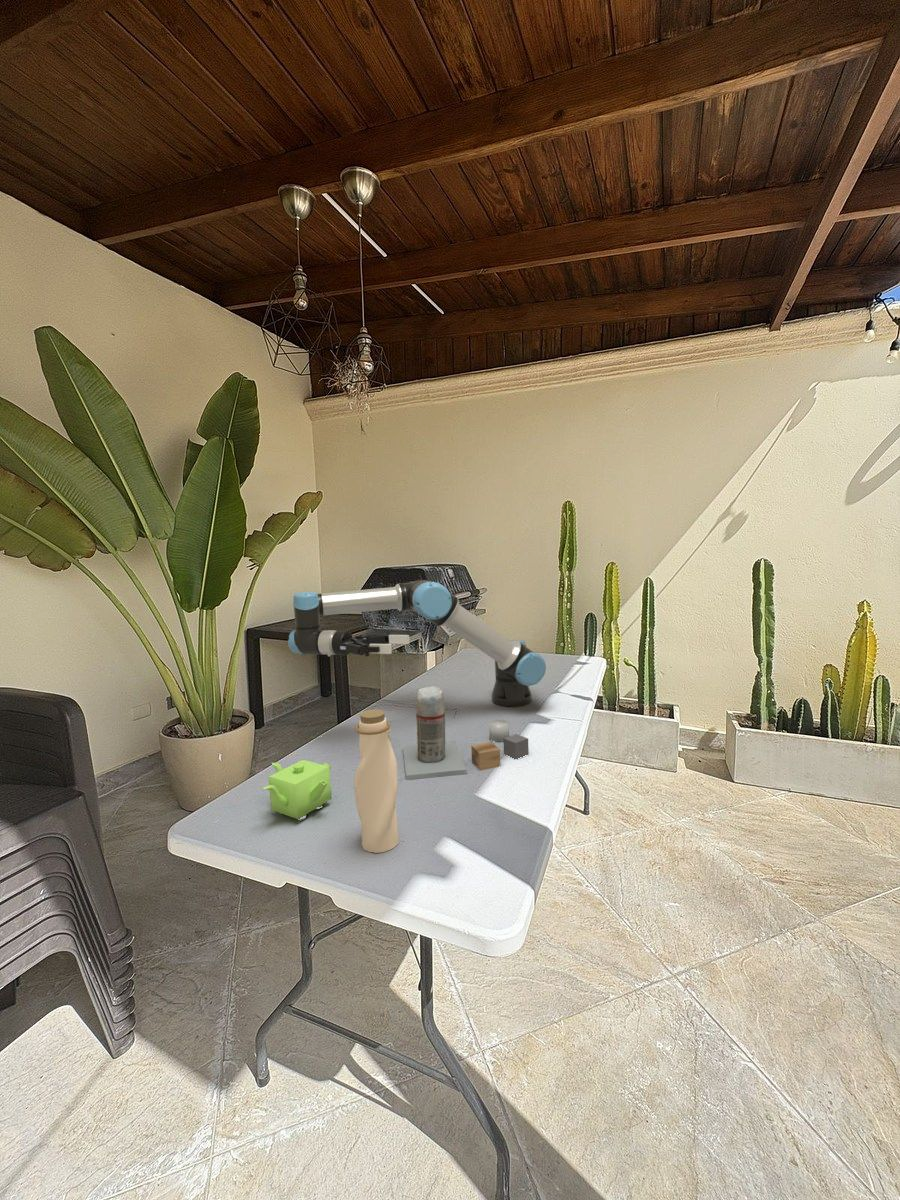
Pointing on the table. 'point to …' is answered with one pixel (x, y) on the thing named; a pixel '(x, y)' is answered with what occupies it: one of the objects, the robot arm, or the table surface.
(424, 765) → the slate board
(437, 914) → the table surface
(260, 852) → the table surface
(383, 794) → the water bottle
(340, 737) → the table surface
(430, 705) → the red-banded paper cylinder
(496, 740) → the white rounded cylinder
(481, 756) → the walnut block
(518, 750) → the charcoal rubber cube
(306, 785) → the kettle
